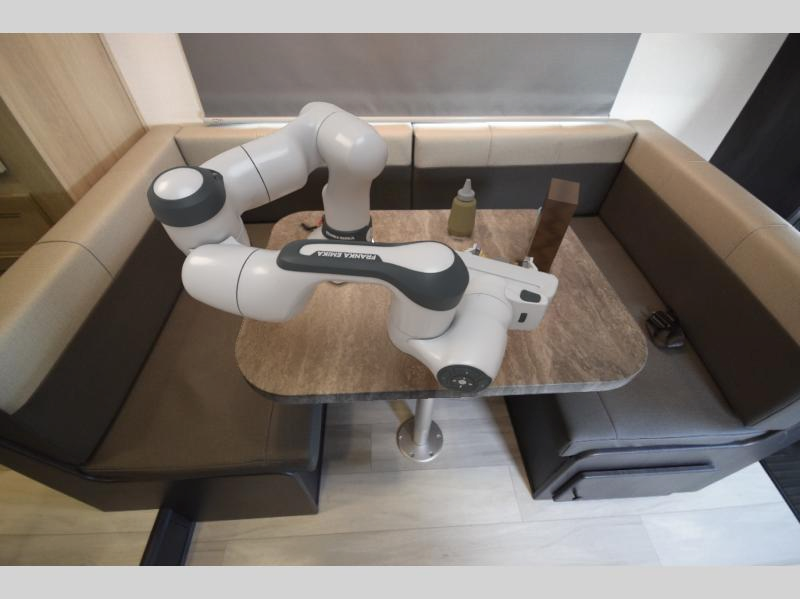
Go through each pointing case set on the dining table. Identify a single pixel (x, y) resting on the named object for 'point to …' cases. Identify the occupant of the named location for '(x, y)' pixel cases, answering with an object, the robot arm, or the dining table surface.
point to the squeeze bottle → (463, 212)
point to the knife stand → (552, 222)
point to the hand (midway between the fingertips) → (502, 253)
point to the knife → (501, 259)
